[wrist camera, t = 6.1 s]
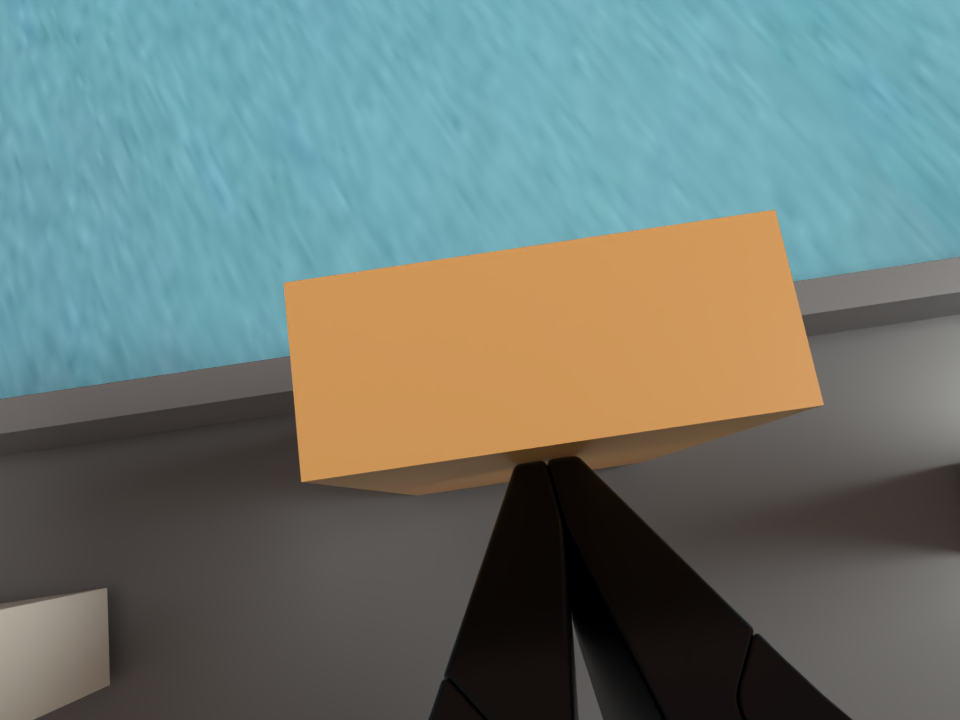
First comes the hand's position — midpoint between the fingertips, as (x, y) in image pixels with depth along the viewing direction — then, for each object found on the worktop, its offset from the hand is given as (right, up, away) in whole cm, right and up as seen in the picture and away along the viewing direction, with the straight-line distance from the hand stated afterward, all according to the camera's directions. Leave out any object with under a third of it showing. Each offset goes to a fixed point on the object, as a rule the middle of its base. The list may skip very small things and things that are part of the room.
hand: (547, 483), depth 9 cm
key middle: (0, 0, +6) cm, 6 cm away
